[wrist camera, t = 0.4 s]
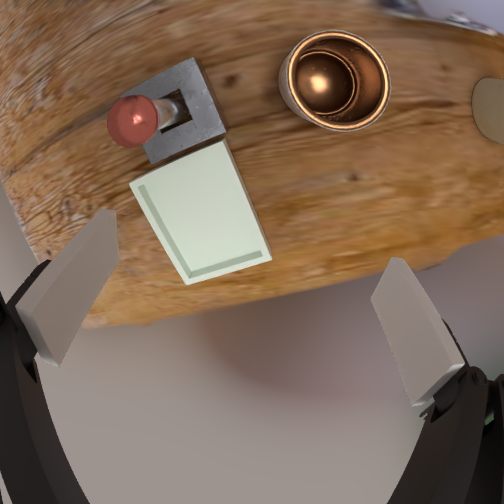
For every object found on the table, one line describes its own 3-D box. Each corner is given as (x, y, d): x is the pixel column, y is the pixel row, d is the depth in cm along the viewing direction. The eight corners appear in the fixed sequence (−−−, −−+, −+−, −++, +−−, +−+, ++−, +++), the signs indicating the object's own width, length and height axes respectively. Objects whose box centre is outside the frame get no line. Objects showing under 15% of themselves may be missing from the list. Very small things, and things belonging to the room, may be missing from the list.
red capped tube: (158, 102, 31) (99, 112, 18) (188, 87, 31) (142, 85, 18) (170, 130, 34) (120, 156, 21) (200, 117, 33) (164, 132, 20)
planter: (289, 130, 34) (300, 142, 25) (267, 52, 28) (271, 37, 20) (367, 116, 32) (400, 125, 24) (349, 40, 26) (378, 26, 18)
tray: (135, 178, 37) (128, 183, 35) (224, 137, 34) (222, 140, 32) (189, 275, 46) (186, 285, 44) (271, 250, 43) (271, 259, 41)
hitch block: (132, 94, 31) (119, 95, 27) (200, 60, 29) (193, 56, 25) (161, 157, 35) (151, 164, 32) (229, 128, 33) (225, 131, 30)
